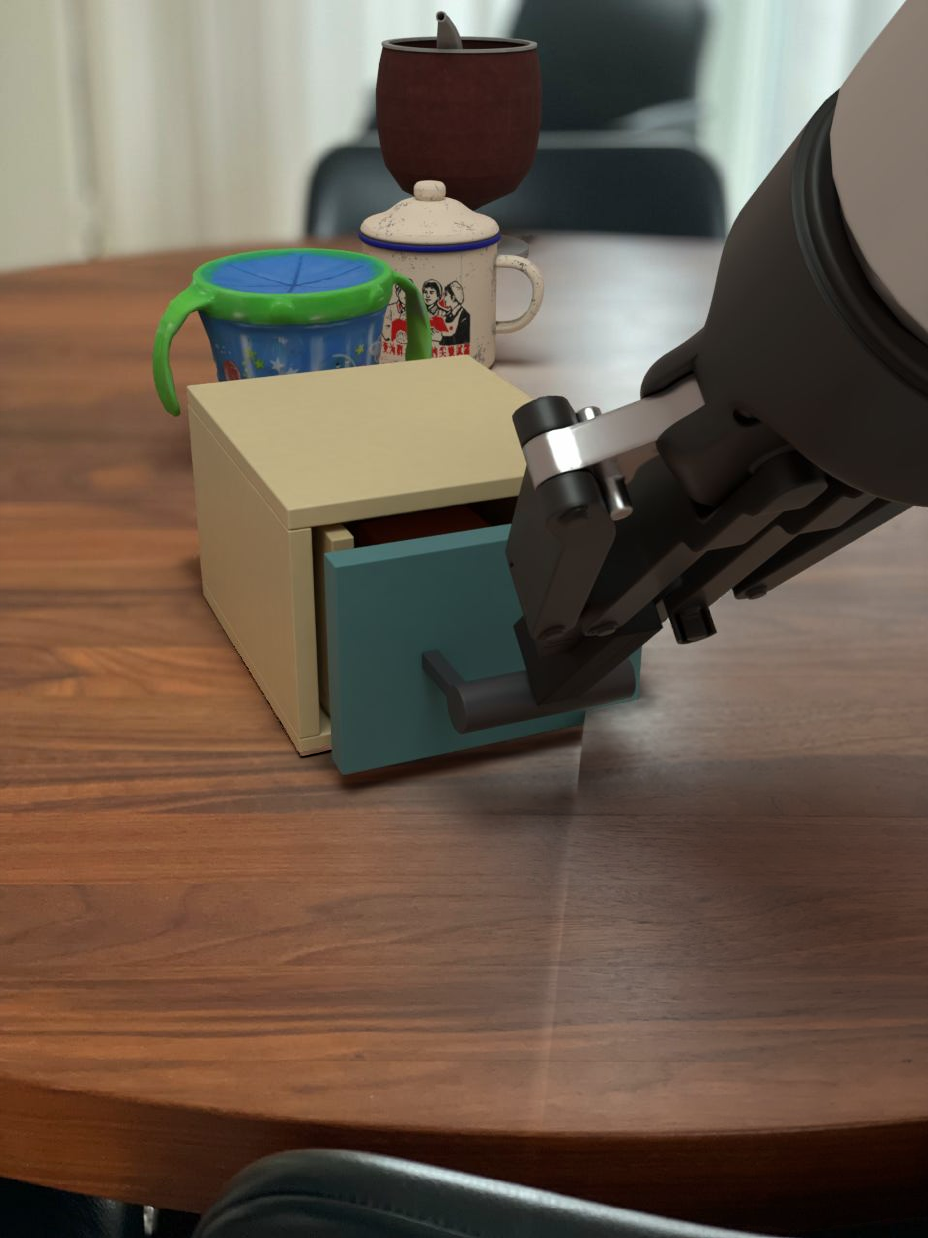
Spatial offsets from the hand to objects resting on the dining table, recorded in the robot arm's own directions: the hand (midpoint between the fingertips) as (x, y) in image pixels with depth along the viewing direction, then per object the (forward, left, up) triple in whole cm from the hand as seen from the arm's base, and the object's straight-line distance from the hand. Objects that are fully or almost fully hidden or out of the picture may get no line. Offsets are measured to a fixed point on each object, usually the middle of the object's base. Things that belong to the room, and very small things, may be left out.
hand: (546, 661), depth 46 cm
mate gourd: (+14, -85, -6) cm, 87 cm away
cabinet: (+7, -12, -6) cm, 15 cm away
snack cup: (+16, -34, -6) cm, 38 cm away
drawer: (+4, -7, -5) cm, 10 cm away
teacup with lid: (+10, -52, -6) cm, 54 cm away
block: (+5, -8, -4) cm, 10 cm away
